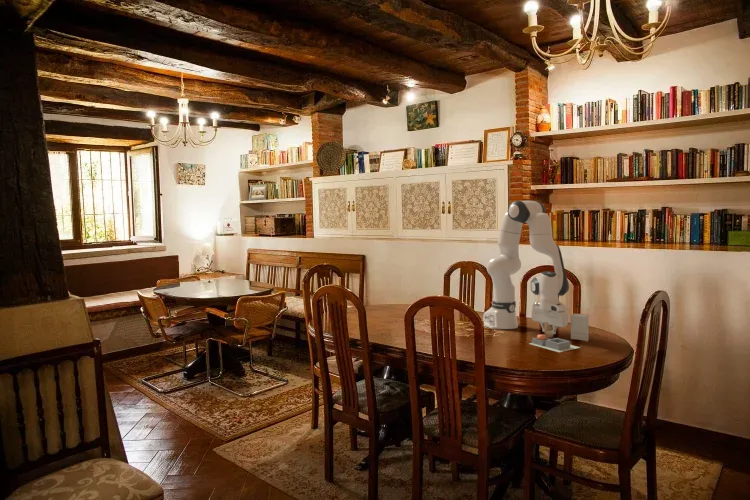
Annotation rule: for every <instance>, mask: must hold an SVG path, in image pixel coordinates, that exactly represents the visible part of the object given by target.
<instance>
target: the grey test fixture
mask: <svg viewBox="0 0 750 500" xmlns="http://www.w3.org/2000/svg"><path fill="white" fill-rule="evenodd" d="M528 344H529V345H531V346H536V347H538V348H542V349H546V350H549V351H553V352H556V353H562V352H567V351H571V350H572V351H573V350H575V349H580V348H581V346H576V345H573V344H571V340H567V339H562V338H559V337H556V338H555V337H553V338H548V337H546V340H543V341H541V340H538V339H537V337H533V338H531V342H530V343H528Z"/></svg>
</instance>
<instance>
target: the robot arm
mask: <svg viewBox="0 0 750 500" xmlns="http://www.w3.org/2000/svg"><path fill="white" fill-rule="evenodd" d="M546 211H547V210H546V206H545V205H544V204H543V203H542V202H540V201H538V200H537V201H536V200H535V201H534V200H529V199H528V200H515V201H513V202H511V203H510V204H509V206H508V207H507V211H506V212H505V213H504V215H503V217H502V220H501V223H500V228H499V232H498V233H499V234H498V239H497V245H498V248H499V256H496V257H493V258H492V259H490V260H489V261H488V262H486V263H487V264H486V271H487V273H488V275H489V276H490V278H491V281H492V286H493V301H491V302H490V304H491V307H490V308H489V309H488V310H486V311H485V312H483V316H482V320H483V321H484V325H483V326H485V327H486V328H489V329H492V330H513V329H517V328H518V327H519V323H518V320H517V311H516V306H517V303H516V300H515V299H516V294H515V293H516V290H515V289H516V288H515V287H516V286H515V285H514V284H513V281H512V279H511V275H514V274H516V273H518V272H519V271H520V269H521V267H522V260H521V259H520V255H519V245H520V241H521V240H520V239H521V234H522V230H523V229H522V227H523V225H524V224H525V223H526V224H527V226H528V230H529V232H528V233H529V234H528V235H529V244H530V246H531V248H532V249H533V250H534V251H536V252H538V253H540V254H543V255H545V256H548V257H549V258H550V259H551V260H552V263H553V268H554V271H542V272H541V273H540V275H538V276H535V277H533V278H532V279H531V281H530V291H531V293H533V294H534V295H535V296H539V302H534V303H533V304H532V310H531V320H532V321H533V322H538V323H540V324H539V325H540V326H541V328H542V329H541V330H542V332H543V333H545V322H548V324H550V325H553V330H551V334H553V335H556V334H557V333H556V332H557V330H558V328H559V327H560V328H566V327H567V326H568V325H569V315H568V312H567V311H568V306H567V305H566V304H564V303H562V302H561V301H559V300H560V299H559V297H563V296H565V295H566V294H567V292H568V291H569V289H570V284H569V280H568V277H567V273H566V269H565V266H564V265H565V264H564V260H563V256H562V251H561V248H560V246H559V245H558V244H556V242H555V241H554V238H553V229H552V222H551V218H550V217H551V216H550V215H549V214H547V213H546Z"/></svg>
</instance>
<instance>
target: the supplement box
mask: <svg viewBox="0 0 750 500" xmlns="http://www.w3.org/2000/svg"><path fill="white" fill-rule="evenodd" d="M589 336H590V335H589V314H585V313H572V314H570V339H571V340H580V341H583V342H588V341H589Z"/></svg>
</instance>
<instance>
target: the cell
mask: <svg viewBox="0 0 750 500" xmlns="http://www.w3.org/2000/svg"><path fill="white" fill-rule="evenodd" d="M553 328H554V327H553V325H550V324H548V322H545V332H544V335H546V338H548V339H552V338H554V334H551V330H553Z"/></svg>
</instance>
